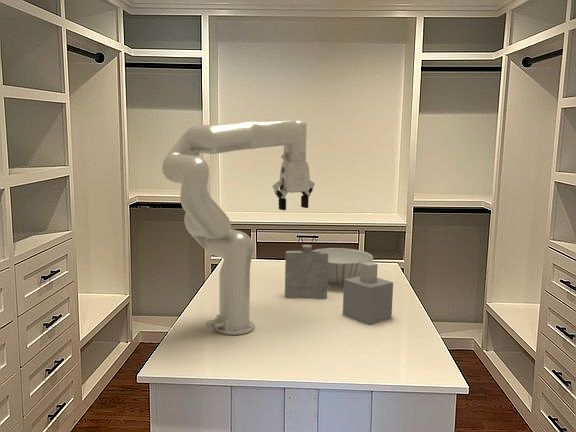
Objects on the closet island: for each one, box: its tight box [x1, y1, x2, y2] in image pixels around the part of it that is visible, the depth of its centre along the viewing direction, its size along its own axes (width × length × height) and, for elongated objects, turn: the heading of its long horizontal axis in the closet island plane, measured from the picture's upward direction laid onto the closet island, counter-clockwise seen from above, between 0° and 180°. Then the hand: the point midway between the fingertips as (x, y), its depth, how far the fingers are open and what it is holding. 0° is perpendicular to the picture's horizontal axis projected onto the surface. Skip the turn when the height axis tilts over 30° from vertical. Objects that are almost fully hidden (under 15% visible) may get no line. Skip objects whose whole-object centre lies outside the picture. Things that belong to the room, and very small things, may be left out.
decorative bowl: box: [314, 247, 374, 289], centre depth 232 cm, size 27×27×12 cm
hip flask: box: [284, 244, 328, 300], centre depth 212 cm, size 16×4×20 cm, turn 89°
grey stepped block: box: [342, 261, 394, 326], centre depth 192 cm, size 11×12×19 cm
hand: (293, 208), depth 191 cm, fingers open, 9 cm apart
